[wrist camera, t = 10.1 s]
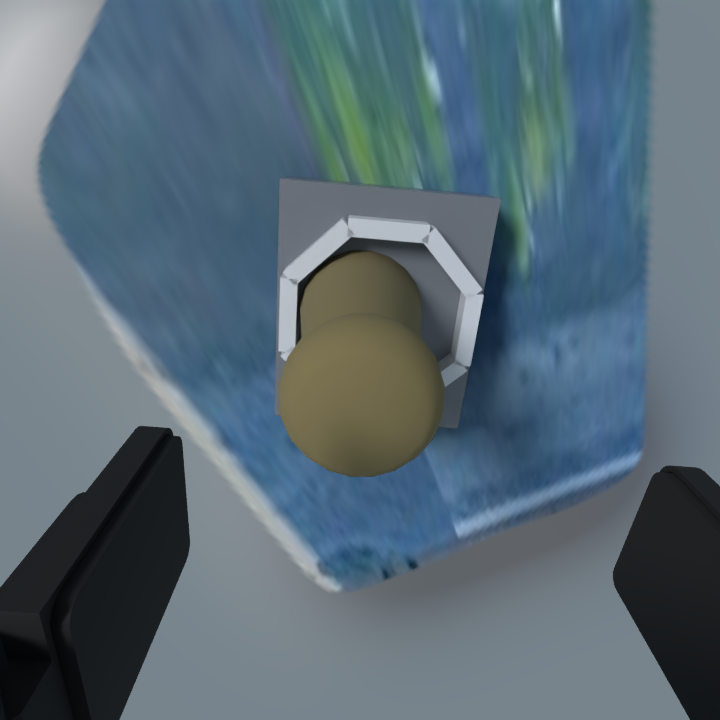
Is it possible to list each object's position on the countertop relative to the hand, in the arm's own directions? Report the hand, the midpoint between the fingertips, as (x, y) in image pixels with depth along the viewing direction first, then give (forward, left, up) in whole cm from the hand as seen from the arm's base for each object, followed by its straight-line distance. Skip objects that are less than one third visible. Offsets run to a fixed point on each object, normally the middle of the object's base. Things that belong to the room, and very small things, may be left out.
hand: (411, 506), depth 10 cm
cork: (+1, -1, -15) cm, 15 cm away
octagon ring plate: (+1, 0, -18) cm, 18 cm away
